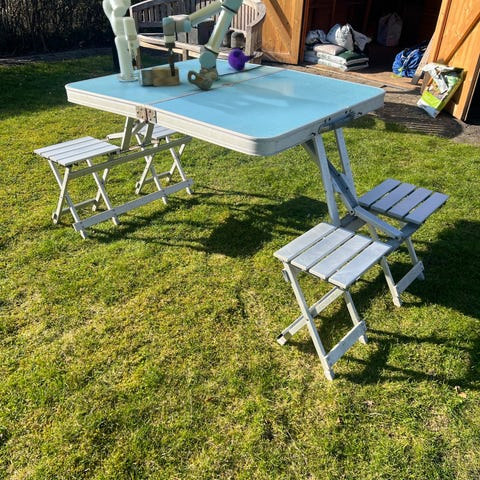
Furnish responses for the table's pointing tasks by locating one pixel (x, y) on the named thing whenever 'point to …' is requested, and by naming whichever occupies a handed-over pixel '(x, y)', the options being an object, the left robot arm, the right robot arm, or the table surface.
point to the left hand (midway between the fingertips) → (134, 66)
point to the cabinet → (165, 76)
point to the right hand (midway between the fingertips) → (172, 74)
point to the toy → (238, 59)
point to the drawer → (144, 77)
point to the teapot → (202, 78)
